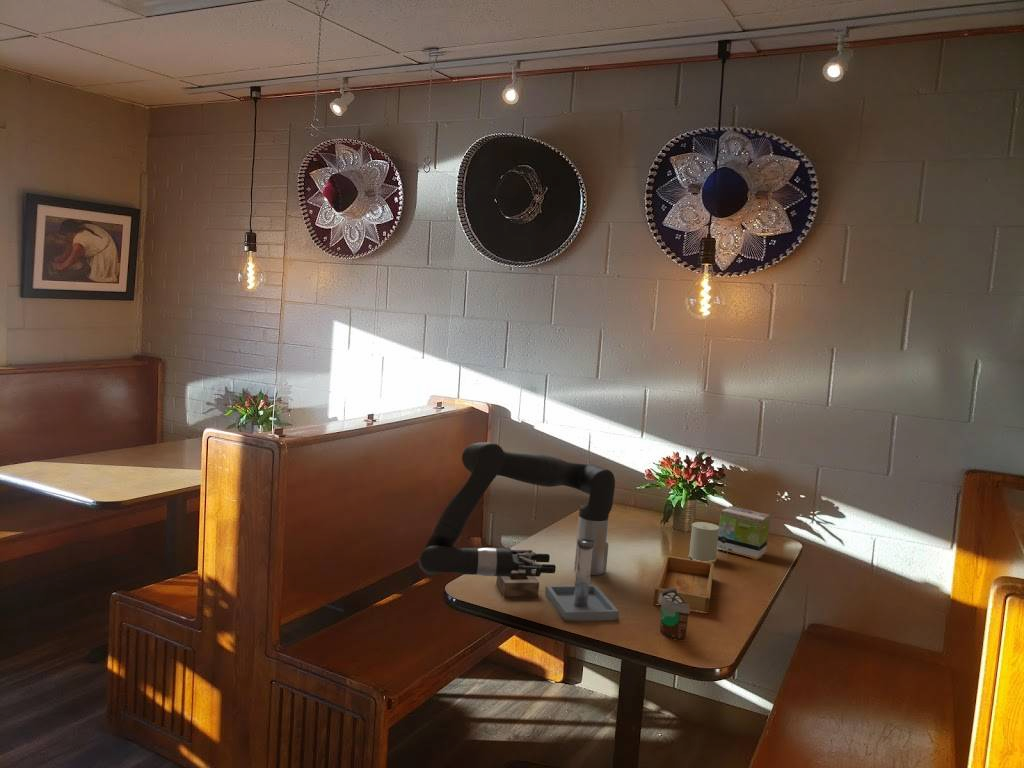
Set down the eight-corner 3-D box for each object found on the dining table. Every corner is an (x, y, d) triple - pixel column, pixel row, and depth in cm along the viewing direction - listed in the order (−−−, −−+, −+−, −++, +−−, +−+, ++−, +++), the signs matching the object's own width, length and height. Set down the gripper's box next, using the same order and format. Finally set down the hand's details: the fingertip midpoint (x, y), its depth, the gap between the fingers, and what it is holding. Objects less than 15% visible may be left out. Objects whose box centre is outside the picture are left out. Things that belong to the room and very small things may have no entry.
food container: (650, 622, 211) (653, 586, 210) (672, 623, 211) (676, 587, 210) (662, 642, 199) (666, 604, 198) (686, 643, 199) (690, 605, 198)
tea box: (715, 550, 278) (719, 510, 276) (724, 544, 286) (729, 504, 285) (758, 561, 270) (762, 519, 268) (766, 554, 278) (771, 513, 277)
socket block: (529, 583, 233) (530, 570, 233) (538, 596, 224) (539, 582, 223) (496, 583, 231) (497, 570, 230) (503, 596, 221) (504, 583, 221)
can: (686, 559, 266) (689, 525, 264) (690, 552, 274) (694, 518, 273) (714, 565, 262) (717, 530, 261) (717, 557, 271) (721, 523, 269)
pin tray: (594, 593, 229) (595, 584, 229) (618, 620, 211) (619, 611, 211) (545, 594, 226) (545, 585, 225) (564, 621, 207) (565, 612, 207)
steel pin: (574, 599, 221) (580, 537, 219) (591, 603, 219) (596, 540, 218) (569, 605, 217) (574, 542, 215) (586, 609, 215) (591, 545, 213)
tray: (707, 616, 219) (710, 596, 219) (653, 606, 224) (655, 587, 223) (712, 580, 249) (714, 563, 248) (664, 572, 253) (665, 555, 252)
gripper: (497, 557, 206) (558, 558, 208) (491, 540, 220) (548, 541, 222) (495, 584, 206) (556, 586, 209) (489, 566, 220) (546, 567, 223)
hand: (552, 563), depth 215 cm, fingers open, 8 cm apart
